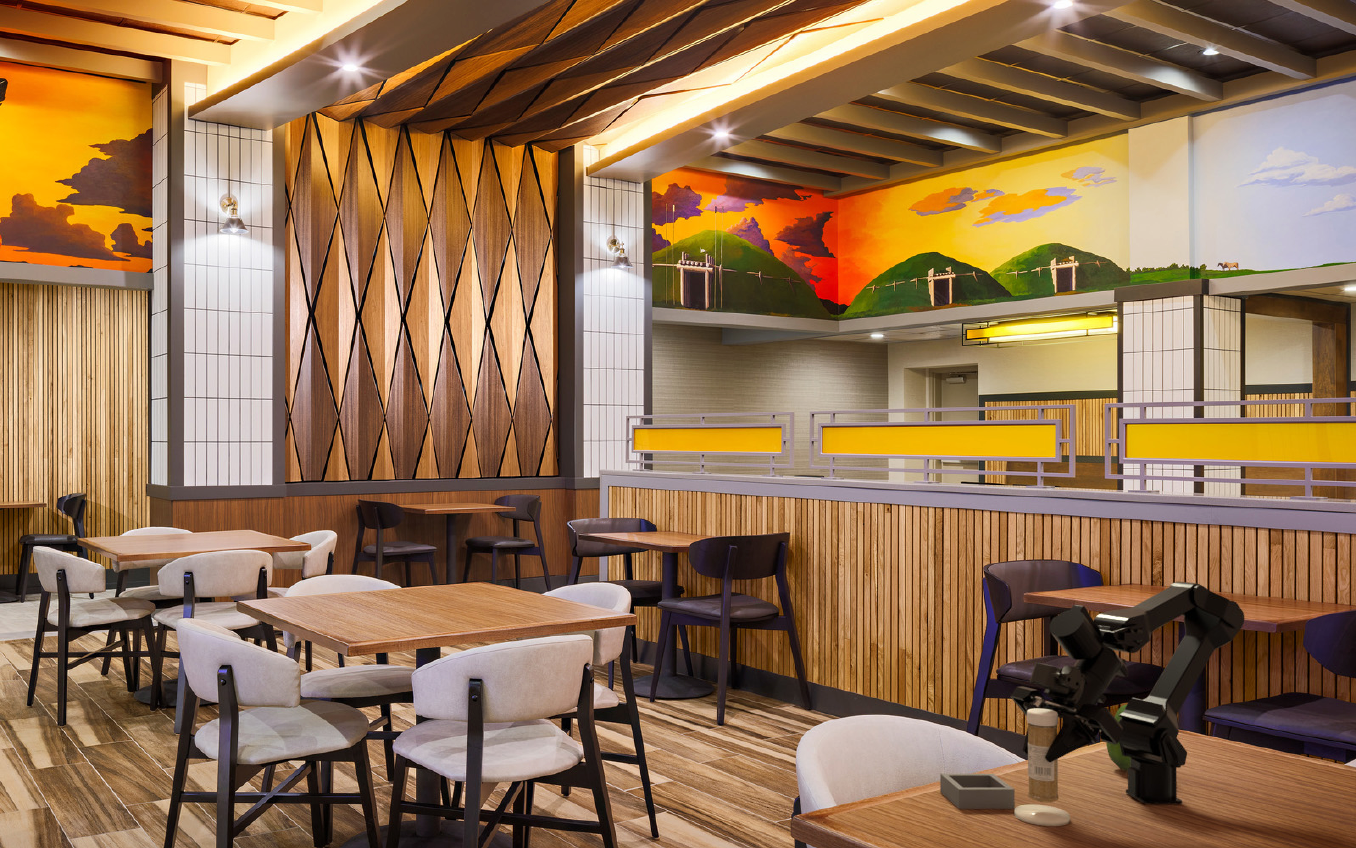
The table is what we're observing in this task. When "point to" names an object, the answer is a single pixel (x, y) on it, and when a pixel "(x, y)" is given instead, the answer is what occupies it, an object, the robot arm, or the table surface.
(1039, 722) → the sprinkles bottle
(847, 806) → the table surface
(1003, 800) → the sleeve
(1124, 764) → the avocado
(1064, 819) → the white round coaster
